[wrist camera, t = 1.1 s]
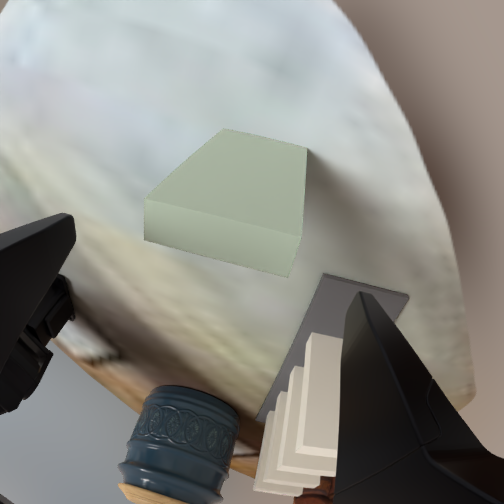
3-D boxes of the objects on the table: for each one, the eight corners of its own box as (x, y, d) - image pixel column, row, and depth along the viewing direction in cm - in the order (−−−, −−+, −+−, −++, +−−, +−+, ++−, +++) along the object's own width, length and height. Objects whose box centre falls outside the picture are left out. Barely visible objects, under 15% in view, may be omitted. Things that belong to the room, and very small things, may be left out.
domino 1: (219, 153, 19) (143, 240, 10) (223, 128, 18) (144, 198, 10) (300, 172, 18) (288, 278, 10) (307, 147, 18) (301, 237, 9)
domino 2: (306, 343, 26) (295, 452, 18) (311, 332, 25) (302, 445, 17) (359, 354, 26) (361, 459, 18) (366, 343, 25) (372, 452, 17)
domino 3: (290, 374, 29) (276, 470, 21) (294, 365, 28) (281, 465, 20) (338, 383, 29) (334, 476, 21) (344, 375, 28) (342, 472, 20)
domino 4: (277, 397, 32) (262, 481, 24) (281, 390, 31) (266, 478, 23) (320, 405, 32) (313, 488, 24) (325, 399, 31) (319, 485, 23)
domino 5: (266, 415, 35) (252, 490, 27) (270, 410, 34) (255, 487, 26) (306, 423, 35) (297, 496, 26) (310, 418, 34) (302, 494, 26)
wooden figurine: (293, 438, 39) (275, 554, 24) (339, 435, 37) (328, 556, 22) (307, 462, 45) (294, 556, 30) (345, 460, 43) (336, 556, 28)
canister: (201, 377, 33) (152, 524, 18) (260, 427, 38) (235, 546, 24) (130, 386, 38) (82, 496, 24) (189, 431, 43) (158, 528, 29)
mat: (255, 418, 36) (255, 420, 36) (323, 273, 22) (323, 276, 22) (308, 428, 36) (308, 430, 36) (407, 294, 22) (408, 298, 22)
